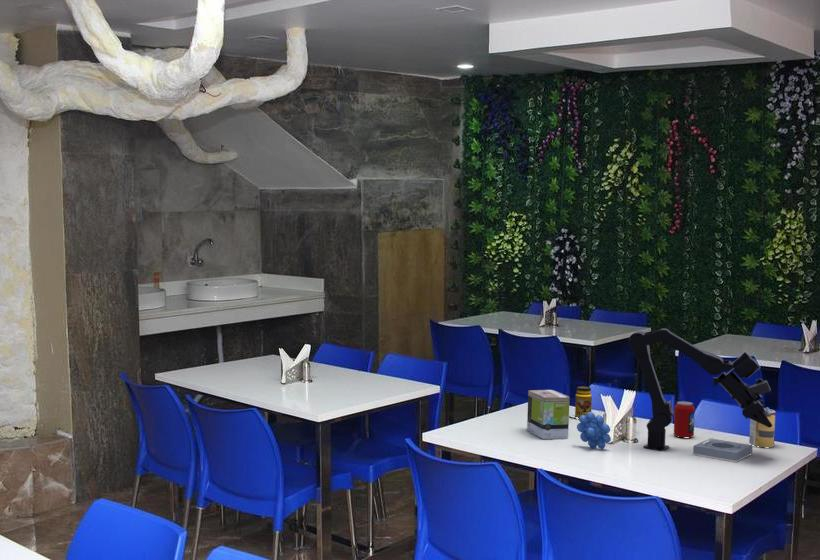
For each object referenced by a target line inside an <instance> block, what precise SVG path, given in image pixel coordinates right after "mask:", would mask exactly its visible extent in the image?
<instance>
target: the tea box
mask: <svg viewBox="0 0 820 560" xmlns="http://www.w3.org/2000/svg"><path fill="white" fill-rule="evenodd" d="M570 400H571V398H570V396H568V395H567V394H563V393H561V392H559V391H556V390H555V389H535V390H533V389H532V390H528V391H527V415H526V417H527V421H526V426H527V427H526V430H527V431H528V432H530V433H532V434H533V435H535V436H537V437H539V438H540V439H542V440H557V439H558V440H560V439H568V438H569V424H570V422H569V421H570Z"/></svg>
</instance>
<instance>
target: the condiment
mask: <svg viewBox="0 0 820 560" xmlns="http://www.w3.org/2000/svg"><path fill="white" fill-rule="evenodd" d="M591 390H592V389H591V387H590V386H581V385H580V386H577V387H576V393H575V401H574V402H575V405H574V406H575V408H574V409H575V410H574V411H575V412H574V413H575V414H574V416H575V417H578V418H579V417H580V416H581V415H585V416H586V417H587V413H588V412H592V402H593V397H592V396H593V395H592V394H591V393H592V391H591Z"/></svg>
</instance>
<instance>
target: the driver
mask: <svg viewBox="0 0 820 560" xmlns="http://www.w3.org/2000/svg"><path fill="white" fill-rule="evenodd" d="M765 409H766V412H764V413H765V415H766V416H767V418H768V419H769V421H770V422H771V424H772V427H770V428H769V427H767V426H765V425H763V424H761V423H759V426H758V445H759V446H763V447H773V446H774V447H775V437H774V432H775V431H776V415H775V416H773V415H771V413H769V409H770V407H768V406H767V407H765ZM774 428H775V430H774ZM774 447H773V448H774Z"/></svg>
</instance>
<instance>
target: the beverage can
mask: <svg viewBox="0 0 820 560" xmlns="http://www.w3.org/2000/svg"><path fill="white" fill-rule="evenodd" d="M695 411H696V408H695V406H694V403H693V402H691V401H685V400H684V401H676V404H675V406H674V413H673V419H674V421H673V435H674V436H676V437H677V436H679V437H691V438H692V437H694V435H695V413H696V412H695ZM679 437H678V438H679Z"/></svg>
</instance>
